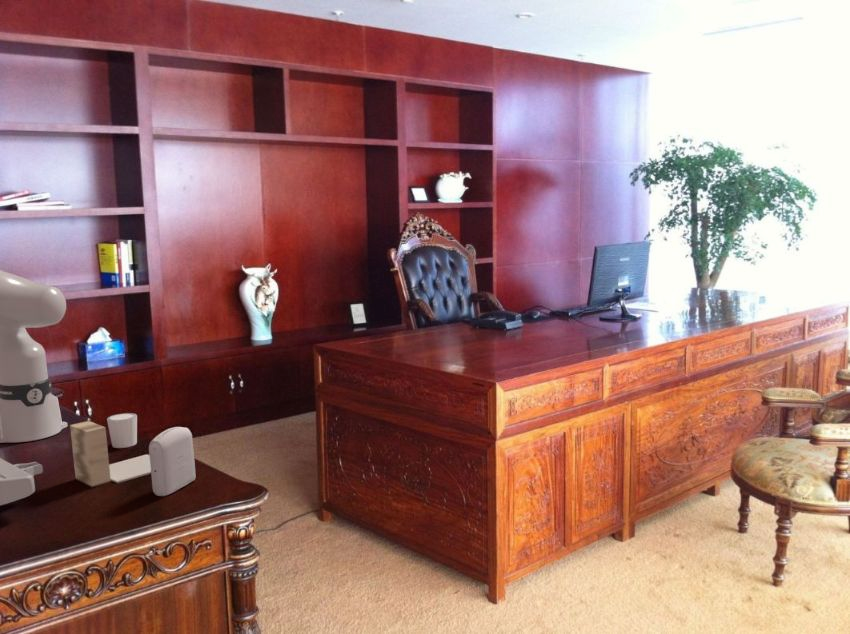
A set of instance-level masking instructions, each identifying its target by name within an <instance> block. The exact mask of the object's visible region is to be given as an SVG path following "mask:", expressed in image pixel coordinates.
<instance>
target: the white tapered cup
mask: <svg viewBox="0 0 850 634" xmlns="http://www.w3.org/2000/svg"><path fill="white" fill-rule="evenodd" d="M106 421H107V426H108V431H109V436H110V441H111V446H112V448H116V449H124V448H130V447H134V446H135V445H137V443H138V415H137V414H136V413H132V412H130V413H129V412H126V413H125V412H124V413H118V414H113V415H110V416H108V417H107V418H106Z"/></svg>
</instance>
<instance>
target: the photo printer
mask: <svg viewBox="0 0 850 634" xmlns="http://www.w3.org/2000/svg"><path fill="white" fill-rule="evenodd" d="M148 455H150V465H151V474H150V475H151V487H152V491H153V493H154V495H155V496H158V497H166V496H168V495H170V494H172V493H174V492H176V491H178V490H179V489H181V488H183V487H185V486H187V485H189V484H190V483H192V482H193V481H195V480H196V479H197V478H196V477H197V476H196V473H197V472H196V466H195V465H196V464H195V452H194V442H193V434H192V432H191V430H190V429H189V428H188V427H182V426H174V427H170V428H167V429H165V430H164V431H162V432H160V433H159V434H158V435H156V436H155V437H154V438H153V439H152V440H151V441H150V443H149V446H148Z"/></svg>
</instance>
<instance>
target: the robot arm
mask: <svg viewBox="0 0 850 634" xmlns="http://www.w3.org/2000/svg"><path fill="white" fill-rule="evenodd" d="M66 311H67V300H66V298H65V296H64V294H63V291H61V290H60V289H59V288H58V287H56V286H51V285H47V284H44V283H43V284H42V283H39V282H37V281H33V280H31V279H28V278H25V277H23V276H19V275H17V274H14V273H11V272H7V271H5V270H2V269H0V443H1V444H2V443H3V444H4V443H22V442H23V443H24V442H32V441H38V440H42V439H45V438H49V437H52V436H54V435H57V434H58V433H60V432H61V431H62V430H63V429H65V428H67V427H68V422H66V421H62V414H61V409H60V405H59V404H60V403H59V399H58V397H57V396H55V395H54V394H52V383H51V382H52V381H51V378H50V377H49V375H48V365H47V356H46V350H45V348H44V347H43V345H42V344H41V343H39V342H37V341H36V340H34V339H33V338H32V337H31V336H30V335H29V333H28V331H27V329H29V328H30V329H31V328H33V329H35V328H36V329H37V328H44V327H49V326H53V325H56V324H59V323H60V322H61V321H62V319H63V318H64V316H65V314H66ZM26 328H27V329H26ZM43 468H44V467H43V465H42V464H40V463H39V462H36V461H33V462H28V463H16V464H12V463H10V462H8V461H6V460H4V459H2V458H1V457H0V506H3V505H7V504H10V503H13V502H16V501H19V500H21V499H25V498H27V497H30V496H31V495H33V494H34V493H35V491H36V486H35V485H36V484H35V478H34V476H36V475H39V474H42V473H44V469H43Z"/></svg>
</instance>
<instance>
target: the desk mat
mask: <svg viewBox="0 0 850 634" xmlns="http://www.w3.org/2000/svg"><path fill="white" fill-rule="evenodd" d="M109 468H110V478H111V482H114V483H116V484H120V483H123V482H126V481H130V480H133V479H137V478H139V477H143V476H147V475H151V465H150V455H149V454H143V455H139V456H136V457H132V458H128V459H124V460H122V461H118V462H114V463H109Z"/></svg>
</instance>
